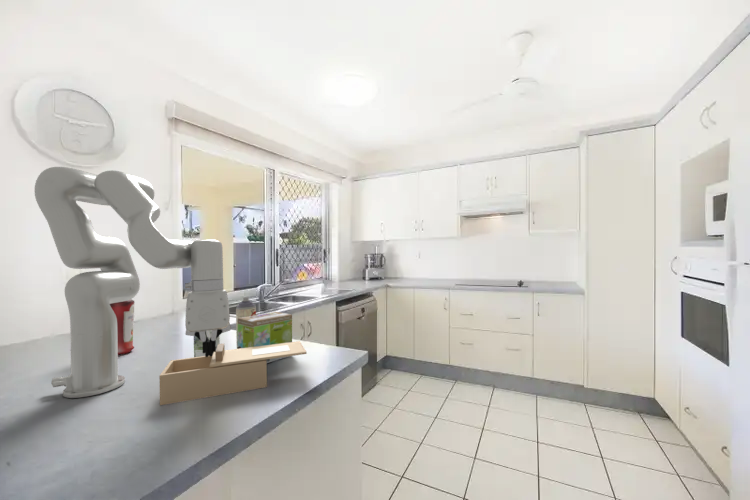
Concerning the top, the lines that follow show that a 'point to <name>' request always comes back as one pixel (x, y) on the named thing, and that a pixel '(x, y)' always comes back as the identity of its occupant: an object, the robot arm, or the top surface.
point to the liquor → (124, 325)
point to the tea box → (264, 330)
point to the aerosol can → (244, 311)
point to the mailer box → (208, 379)
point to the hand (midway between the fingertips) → (209, 355)
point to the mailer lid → (255, 353)
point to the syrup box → (198, 344)
